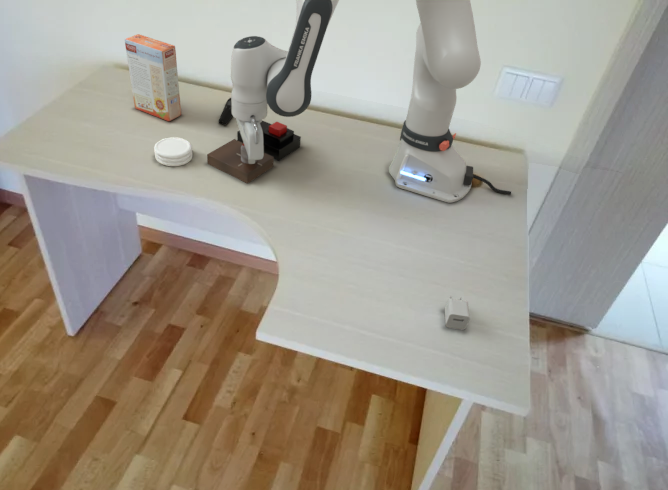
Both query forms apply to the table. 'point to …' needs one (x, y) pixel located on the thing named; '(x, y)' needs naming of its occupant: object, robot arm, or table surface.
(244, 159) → the dial
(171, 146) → the white round disc stack
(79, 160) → the table surface
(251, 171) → the dial panel
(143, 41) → the cracker box
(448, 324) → the usb wall charger
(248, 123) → the robot arm
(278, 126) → the button
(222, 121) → the electric trimmer
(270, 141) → the red push button box
